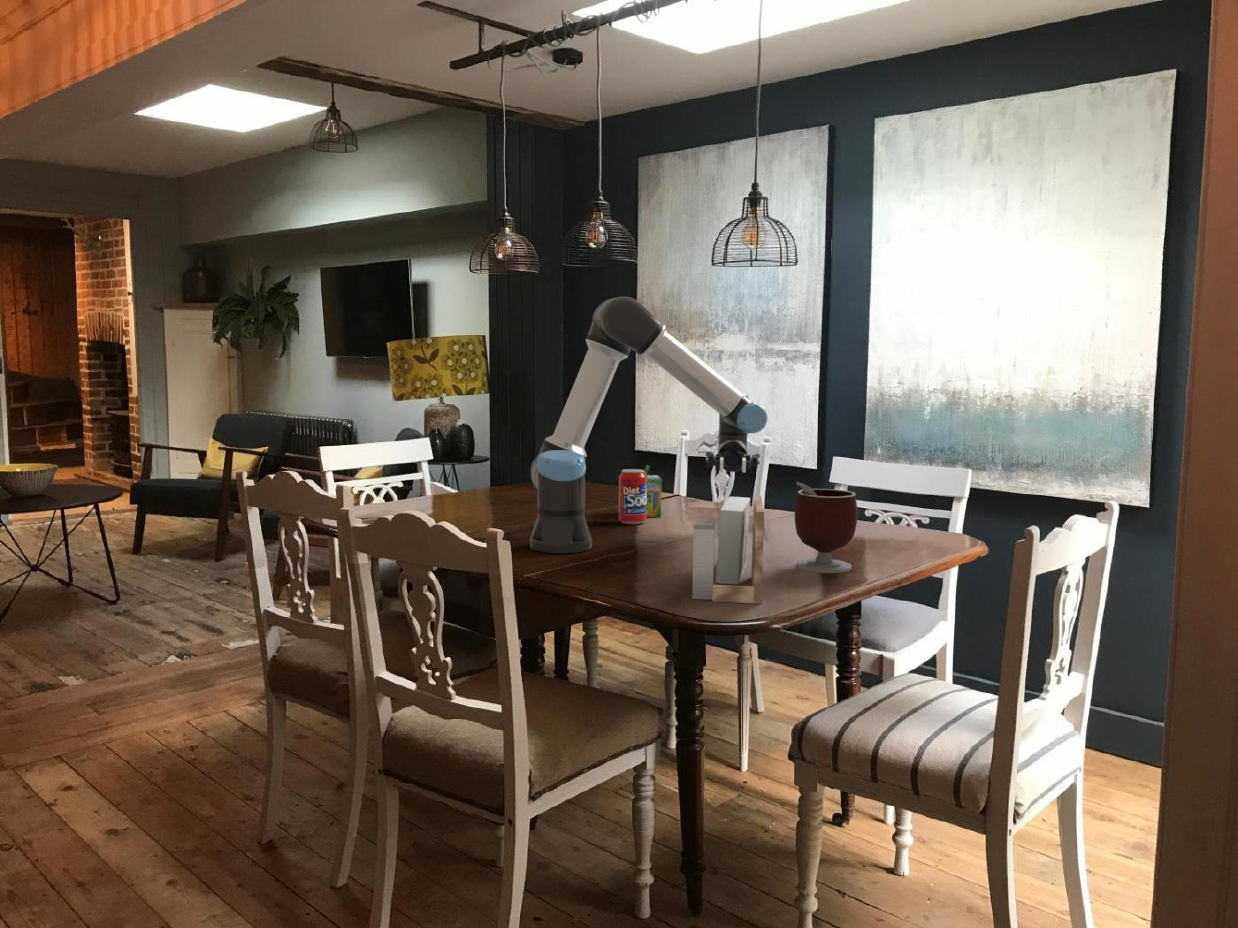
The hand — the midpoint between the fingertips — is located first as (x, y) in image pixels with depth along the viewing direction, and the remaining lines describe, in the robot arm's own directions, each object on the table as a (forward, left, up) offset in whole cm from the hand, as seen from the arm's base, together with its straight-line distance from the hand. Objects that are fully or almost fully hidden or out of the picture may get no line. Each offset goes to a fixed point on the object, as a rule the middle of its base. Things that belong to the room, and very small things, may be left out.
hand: (732, 466), depth 232 cm
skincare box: (+1, -15, -22) cm, 27 cm away
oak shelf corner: (+1, -29, -22) cm, 37 cm away
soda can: (-27, +45, -22) cm, 57 cm away
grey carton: (-5, -35, -22) cm, 41 cm away
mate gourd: (+21, -5, -22) cm, 31 cm away
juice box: (-25, +59, -22) cm, 68 cm away
